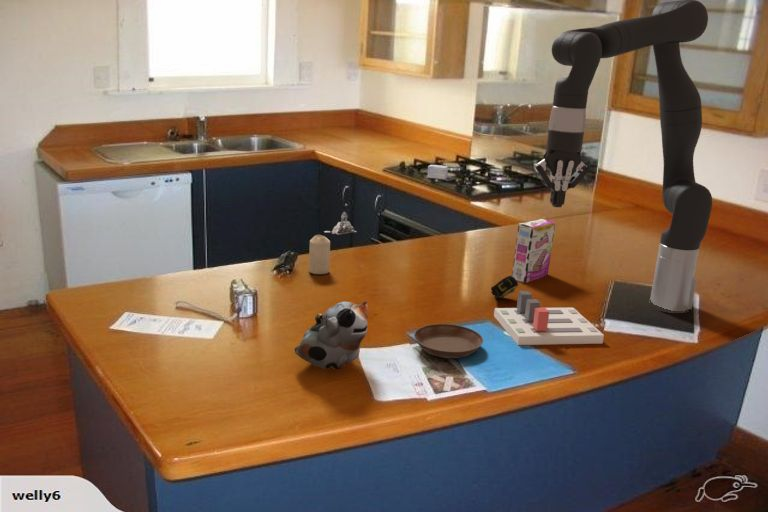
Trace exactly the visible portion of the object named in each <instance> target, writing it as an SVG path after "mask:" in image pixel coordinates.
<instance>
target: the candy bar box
mask: <svg viewBox="0 0 768 512" xmlns="http://www.w3.org/2000/svg"><path fill="white" fill-rule="evenodd" d="M555 227H556V221H555V222H554V221H552V220H548V219H543V218H540V219H535V220H531V221H530V220H529V221H525V222H520V223H518V227H517V235H516V243H515V252H514V255H513V256H514V257H513V266H512V272H511V273H512V274H511V276H513V277H514V278H515V279H516V281H517V282H520V283H523V284H527V283H529V282H533V281H535V280H538V279H541V278H544V277H546V276H548V275H549V269H550V264H551V263H550V262H551V256H552V255H551V254H552V250H553V249H552V247H553V242H554V234H555Z"/></svg>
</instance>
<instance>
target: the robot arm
mask: <svg viewBox="0 0 768 512" xmlns="http://www.w3.org/2000/svg"><path fill="white" fill-rule="evenodd" d="M708 21H709V13H708V11H707V8H706V6H705V5H704V3H702V2H701V1H699V0H672V1H666V2H661V3H659V4H657V5H656V6H655V7H654V9H653V11H652V13H651V15H649V16H640V17H633V18H627V19H622V20H617V21H614V22H609V23H608V22H607V23H605V24H602V25H598V26H595V27H584V28H577V29H569V30H566V31H564V32H562V33H560V34H559V35H558V36H556V37H555V39H554V40H553V42H552V45H551V55H552V57H553V59H554V61H556V62H557V63H558V64H560V65H562V66H569V67H571V69H570V71H569V73H568V75H567V76H566V77H562V78H559V79H557V80H556V83H555V86H554V92H553V93H554V94H553V100H552V108H551V112H550V115H549V121H548V122H549V123H548V132H547V137H546V139H547V140H546V146H545V147H546V150H545V153H544V155H543V157H542V159H541V161H539V162H537V163H536V162H535V163H533V164H532V168H533V169H534V172H535V173H536V175H537V176H538V177H539V179H540V181H541V183H542V184H543V186H545V187H546V188H548V189H550V198H549V203H550V204H551V206H552V207H553V208H562V206H564V204H565V200H566V193H567V191H568V190H570V189H575V187H577V186H578V184H579V183H581V181H582V180H583V179H584V178H585V176H587V174H588V173H589V172H590V171H591V167H590V166H588V165H586V164H585V163H584V162H583V157H582V150H583V142H584V135H585V129H586V122H587V121H586V120H587V119H586V117H587V103H588V98H589V97H588V96H589V89H590V86H591V84H592V82H593V80H594V77H595V74H596V72H597V70H598V67H599V65H600V63H601V59H609V58H610V59H611V58H613V57H616V56H620V55H624V54H627V53H631V52H634V51H637V50H640V49H644V48H648V47H651V46H652V48H653V56H654V60H655V66H656V76H657V86H658V87H657V88H658V97H659V99H658V102H659V107H658V108H659V120H660V121H659V122H660V130H661V131H660V132H661V133H660V134H661V147H662V155H663V156H662V157H663V172H662V173H663V174H662V175H663V176H662V195H661V197H662V202H663V205H664V207H665V209H666V211H668V212H669V213H670V214H672V216H671V217H672V218H671V221H670V224H669V225H670V226H669V228H668V229H664V230H663V231H662V232H661V233H660V234H661V235H660V240H659V246H658V253H657V256H656V257H657V258H656V263H655V267H654V268H655V270H654V275H653V281H652V285H651V286H652V287H651V292H650V298H649V301H650V300H651V302H652V303H653V304H654V305H657V306H659V307H662V308H664V309H668V310H671V311H685V310H687V309H691V310H692V308H693V302H694V296H695V293H696V292H695V291H696V287H697V282H698V278H697V277H696V276H695V272H696V269H697V268H696V267H697V262H698V257H699V251H700V246H701V244H702V243H701V242H702V241H703V240H704V238H705V237H706V233H707V230H708V226H709V221H710V216H711V213H712V209H713V207H712V206H713V197H712V194H711V192H710V190H709V189H708V187H706V186H704V185H703V184H700V183H698V182H696V178H695V170H694V169H695V167H694V156H695V151H696V148H697V146H698V145H697V144H698V142H699V139H700V136H701V131H702V127H703V112H702V111H703V110H702V108H703V107H702V99H701V98H702V97H701V95H700V92H699V90H698V88H697V87H696V85H695V83H694V82H693V80H692V78H691V77H690V75H689V74H688V72H687V70H686V69H685V66H684V64H683V61H682V57H681V49H680V48H681V47H680V43H689V42H692V41H696V40H697V39H699V38H700V37H701V36H702V35H703V34H704V33H705V31H706V30H707V27H708ZM547 169H548V171H549V173H550V178H549V175H548V174H547V172H546V170H547ZM575 170H576V171H575ZM573 172H574V173H573ZM572 173H573V174H572Z"/></svg>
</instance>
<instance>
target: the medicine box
mask: <svg viewBox="0 0 768 512" xmlns="http://www.w3.org/2000/svg"><path fill="white" fill-rule="evenodd" d="M448 170H449V167H448V166H447V165H440V164H439V165H438V164H430V165H428V166H427V178H428V179H436V180H437V179H439V180H446V179H447V178H448V172H449V171H448Z"/></svg>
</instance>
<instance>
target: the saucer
mask: <svg viewBox="0 0 768 512" xmlns="http://www.w3.org/2000/svg"><path fill="white" fill-rule="evenodd" d="M413 337H414V340H415V342H416V343H417V344H418V345H419V347H420V348H421V349H422V350H423V351H425V352H426V353H427V354H429V355H432V356H435V357H439V358H443V359H461V358H465V357H468V356H470V355H471V354H473V353H475V352H476V351H477V350H478V349H480V347H481V346H482V345H483V343H484V338H483V336H482V335H481V334H480V333H479V332H477V331H475V330H474V329H472V328H469V327H466V326H463V325H457V324H449V323H448V324H447V323H446V324H445V323H435V324H428V325H424V326H421V327H419V328H418V329H416V330H415V332H414V334H413Z"/></svg>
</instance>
